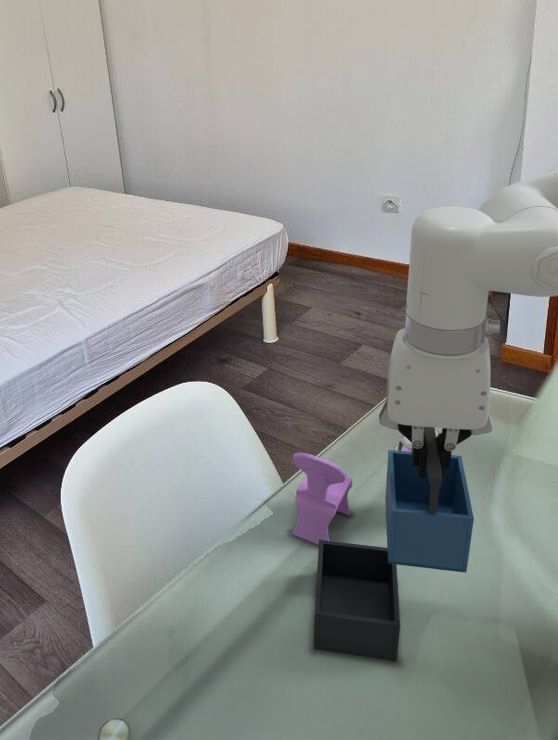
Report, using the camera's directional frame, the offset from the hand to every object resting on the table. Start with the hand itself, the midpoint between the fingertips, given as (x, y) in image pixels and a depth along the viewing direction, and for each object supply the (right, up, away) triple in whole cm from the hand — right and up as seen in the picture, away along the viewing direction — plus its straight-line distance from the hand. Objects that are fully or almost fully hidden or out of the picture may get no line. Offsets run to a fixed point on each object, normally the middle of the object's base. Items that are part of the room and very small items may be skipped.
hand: (429, 469), depth 78 cm
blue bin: (+1, -9, +4) cm, 10 cm away
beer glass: (+8, -15, +30) cm, 34 cm away
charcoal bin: (-5, -23, +14) cm, 28 cm away
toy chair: (-6, -16, +29) cm, 34 cm away
